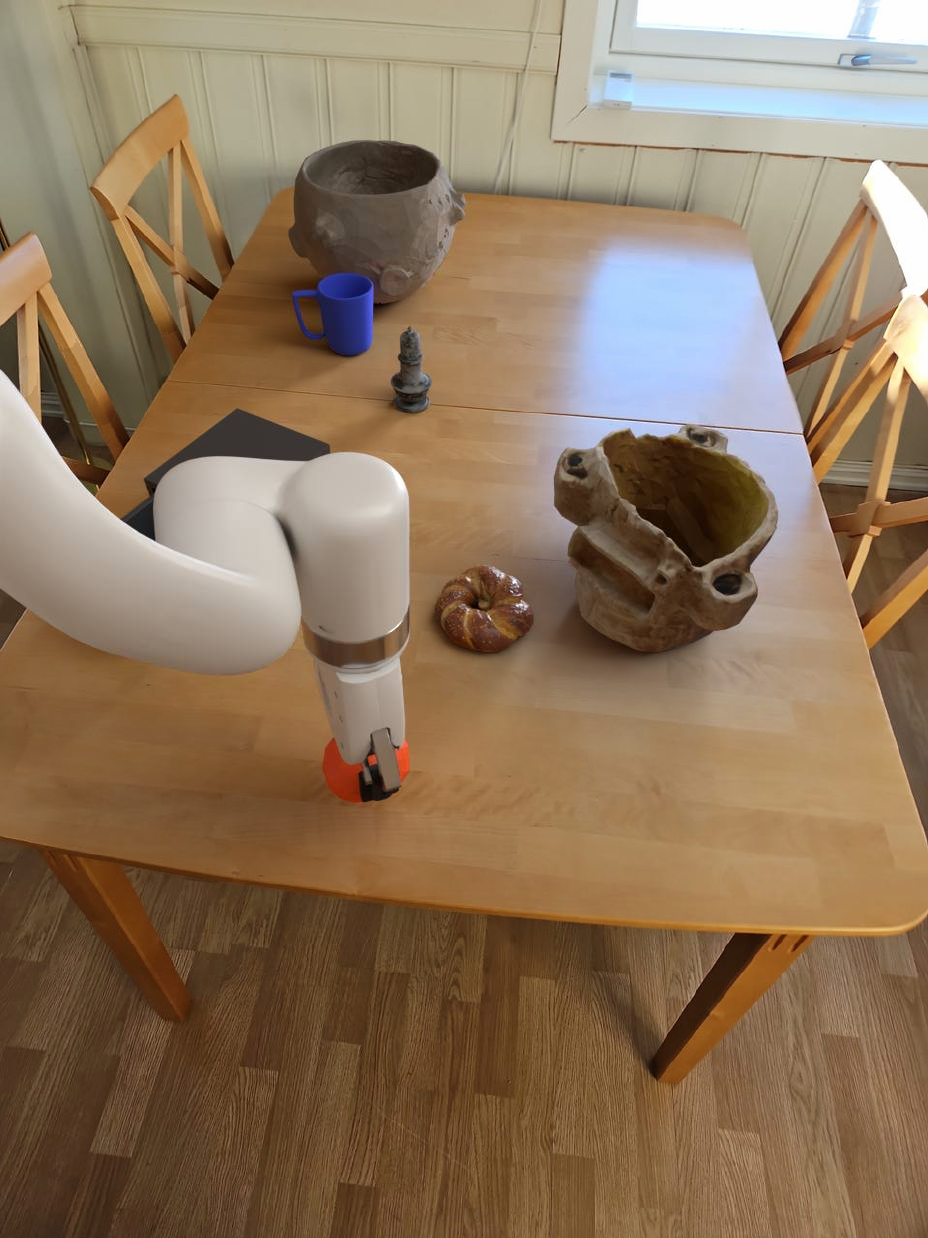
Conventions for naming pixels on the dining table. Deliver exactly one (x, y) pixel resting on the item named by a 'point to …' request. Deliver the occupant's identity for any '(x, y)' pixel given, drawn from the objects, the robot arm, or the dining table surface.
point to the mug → (342, 312)
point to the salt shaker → (411, 376)
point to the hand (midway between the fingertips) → (365, 755)
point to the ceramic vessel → (663, 534)
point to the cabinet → (244, 444)
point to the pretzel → (483, 609)
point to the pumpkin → (353, 771)
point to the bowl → (375, 214)
